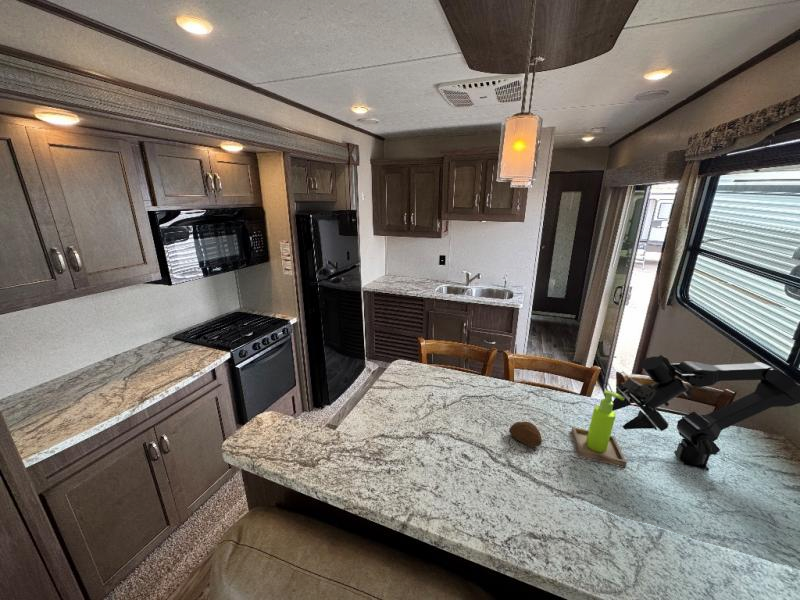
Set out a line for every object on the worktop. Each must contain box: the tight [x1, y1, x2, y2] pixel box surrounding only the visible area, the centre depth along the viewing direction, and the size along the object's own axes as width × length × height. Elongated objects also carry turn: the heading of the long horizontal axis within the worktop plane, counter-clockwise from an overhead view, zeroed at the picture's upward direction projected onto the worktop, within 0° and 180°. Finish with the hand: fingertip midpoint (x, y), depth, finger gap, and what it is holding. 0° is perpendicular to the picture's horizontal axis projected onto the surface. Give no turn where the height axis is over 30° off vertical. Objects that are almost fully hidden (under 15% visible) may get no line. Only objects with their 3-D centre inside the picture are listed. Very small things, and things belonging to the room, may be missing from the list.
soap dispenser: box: [586, 389, 625, 452], centre depth 100 cm, size 6×7×20 cm
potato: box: [508, 421, 543, 448], centre depth 104 cm, size 7×10×7 cm
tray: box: [571, 426, 628, 468], centre depth 103 cm, size 13×13×2 cm
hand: (615, 418), depth 100 cm, fingers open, 9 cm apart
